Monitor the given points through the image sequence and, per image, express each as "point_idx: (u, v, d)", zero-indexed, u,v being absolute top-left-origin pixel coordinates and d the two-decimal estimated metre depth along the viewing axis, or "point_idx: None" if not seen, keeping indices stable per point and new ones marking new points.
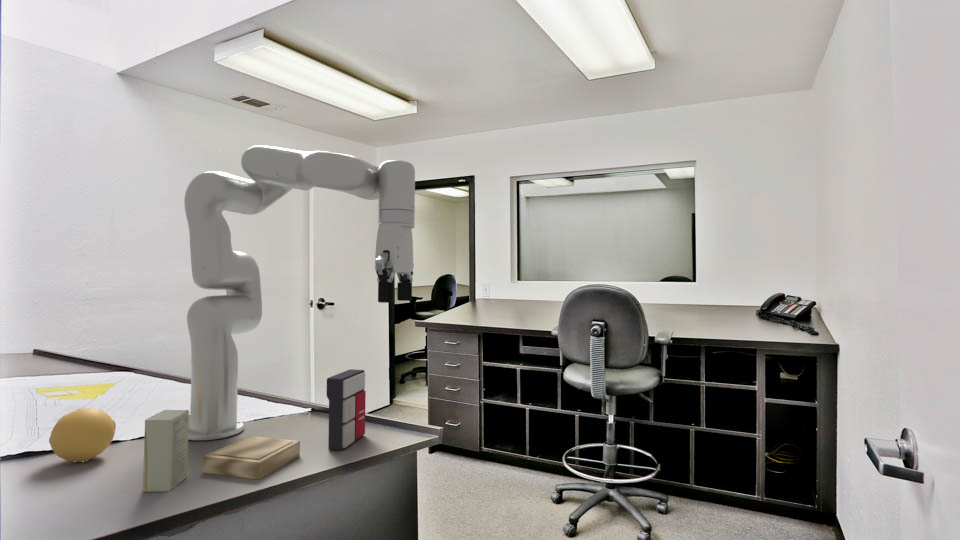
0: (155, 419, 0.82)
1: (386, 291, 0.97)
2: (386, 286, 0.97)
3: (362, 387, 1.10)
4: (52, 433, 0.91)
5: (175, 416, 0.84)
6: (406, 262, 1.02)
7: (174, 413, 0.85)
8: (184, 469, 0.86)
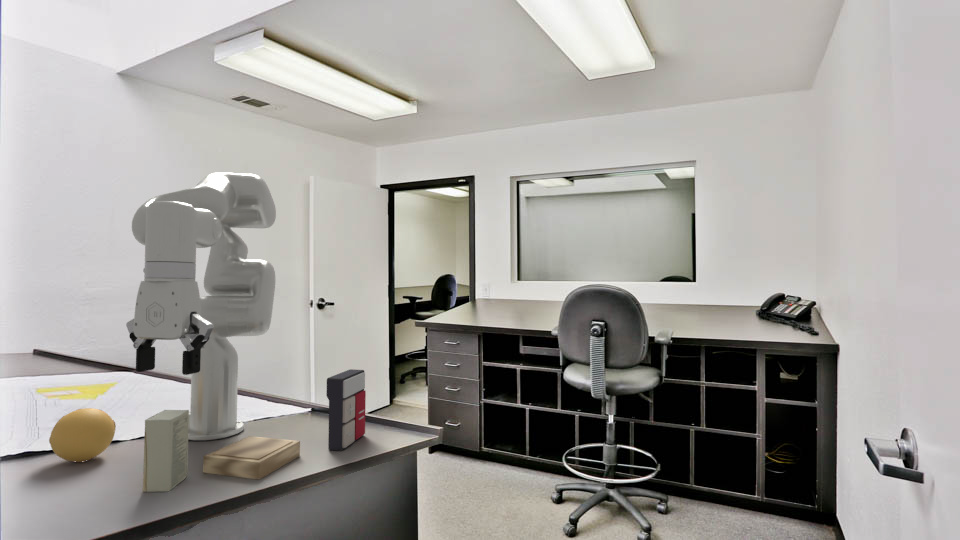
0: (155, 419, 0.82)
1: (199, 360, 0.84)
2: (199, 354, 0.84)
3: (362, 387, 1.10)
4: (52, 433, 0.91)
5: (175, 416, 0.84)
6: None
7: (174, 413, 0.85)
8: (184, 469, 0.86)
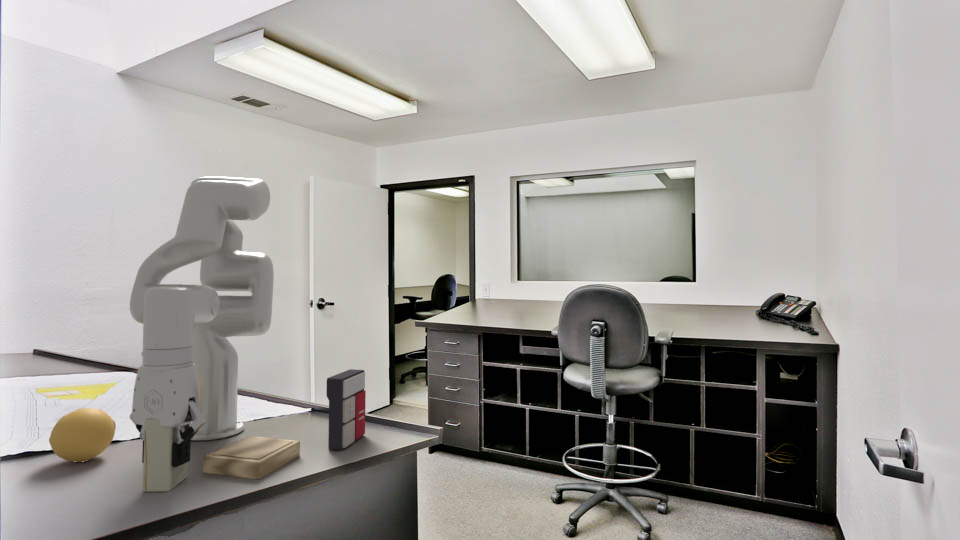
0: (155, 419, 0.82)
1: (188, 450, 0.84)
2: (188, 444, 0.84)
3: (362, 387, 1.10)
4: (52, 433, 0.91)
5: None
6: None
7: None
8: (184, 469, 0.86)
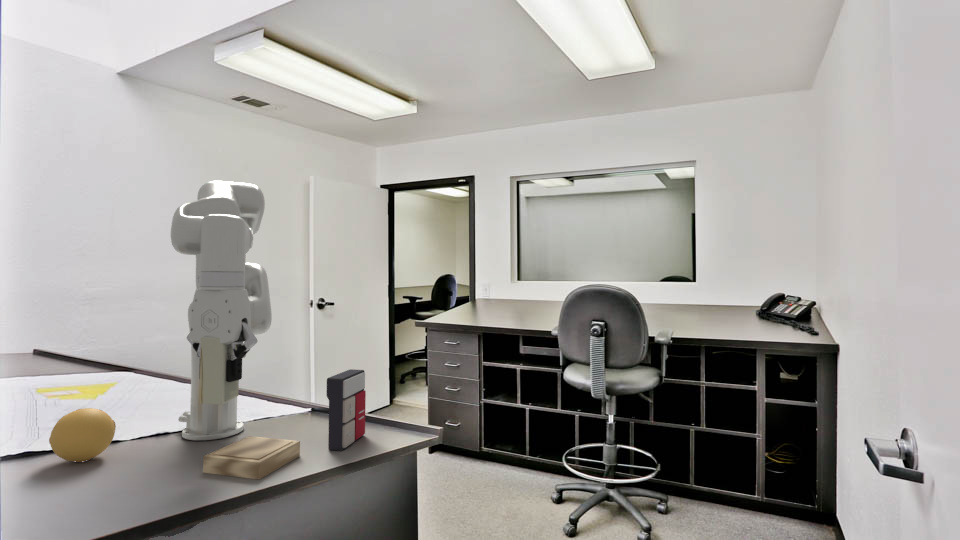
0: (210, 337, 0.88)
1: (241, 368, 0.90)
2: (241, 362, 0.90)
3: (362, 387, 1.10)
4: (52, 433, 0.91)
5: None
6: None
7: None
8: (236, 388, 0.92)
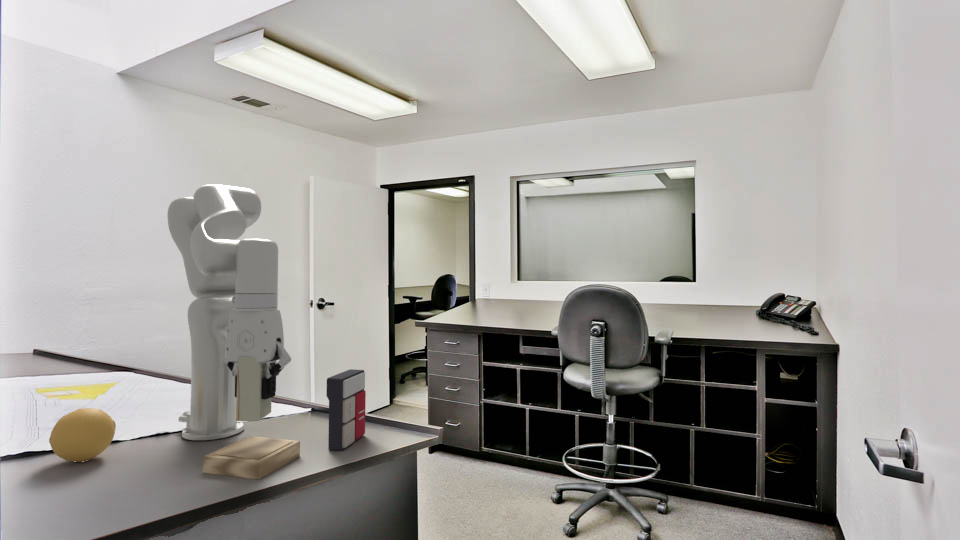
0: None
1: (275, 385, 0.94)
2: (275, 380, 0.94)
3: (362, 387, 1.10)
4: (52, 433, 0.91)
5: None
6: None
7: None
8: (269, 405, 0.96)
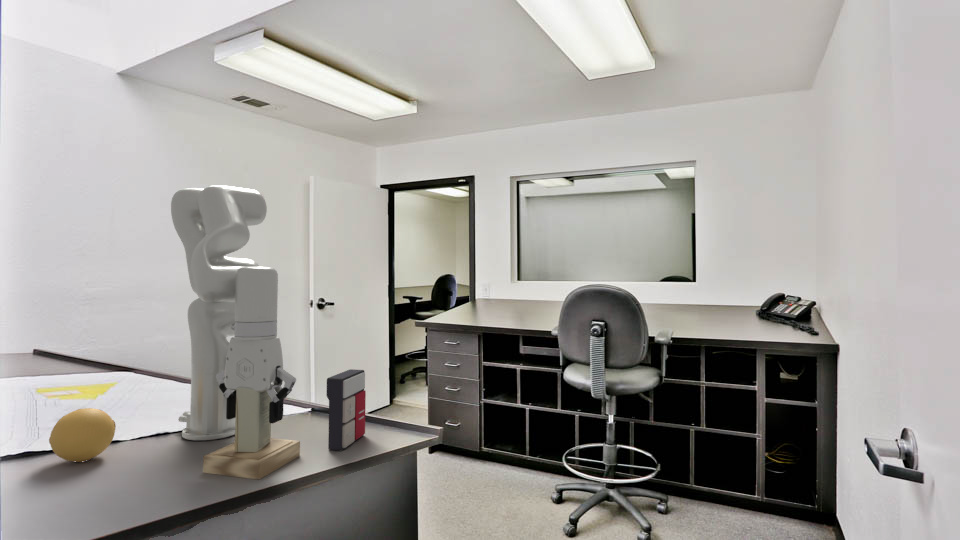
0: None
1: (282, 409, 0.93)
2: (282, 404, 0.93)
3: (362, 387, 1.10)
4: (52, 433, 0.91)
5: None
6: None
7: None
8: (268, 434, 0.96)
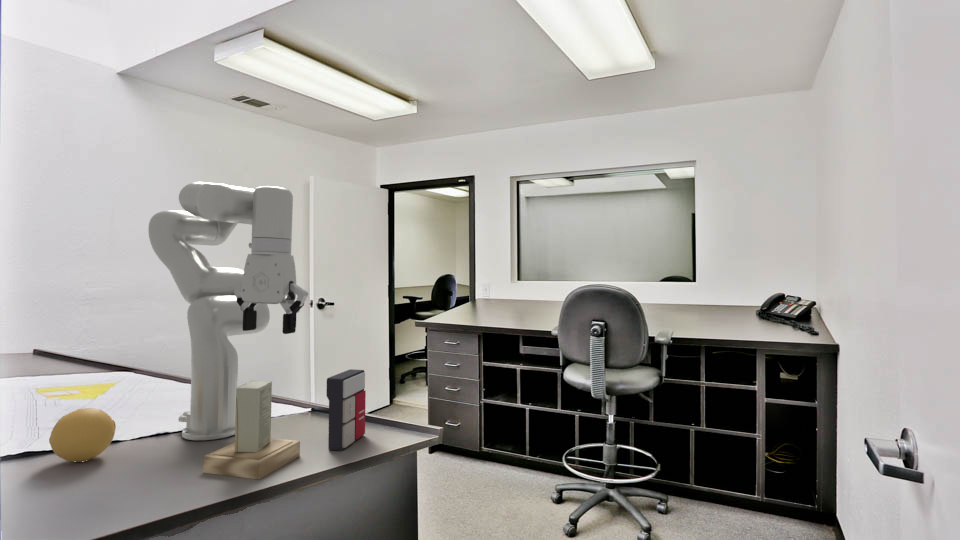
0: (245, 387, 0.91)
1: (295, 322, 0.98)
2: (295, 317, 0.98)
3: (362, 387, 1.10)
4: (52, 433, 0.91)
5: (261, 386, 0.93)
6: None
7: (260, 383, 0.95)
8: (268, 434, 0.96)
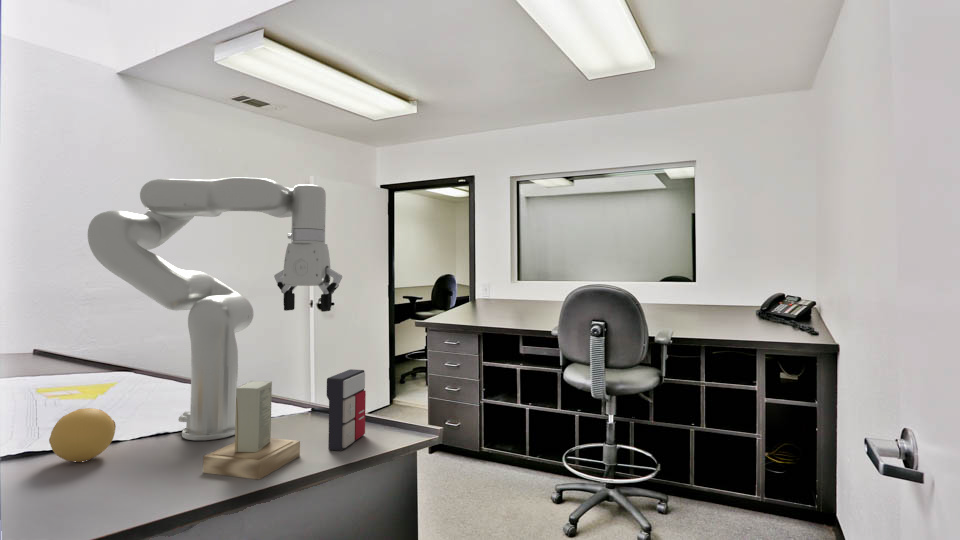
0: (245, 387, 0.91)
1: (331, 301, 1.14)
2: (331, 297, 1.14)
3: (362, 387, 1.10)
4: (52, 433, 0.91)
5: (261, 386, 0.93)
6: None
7: (260, 383, 0.95)
8: (268, 434, 0.96)
